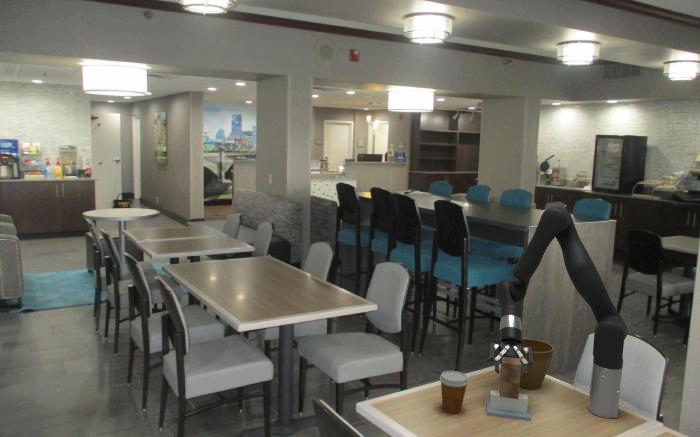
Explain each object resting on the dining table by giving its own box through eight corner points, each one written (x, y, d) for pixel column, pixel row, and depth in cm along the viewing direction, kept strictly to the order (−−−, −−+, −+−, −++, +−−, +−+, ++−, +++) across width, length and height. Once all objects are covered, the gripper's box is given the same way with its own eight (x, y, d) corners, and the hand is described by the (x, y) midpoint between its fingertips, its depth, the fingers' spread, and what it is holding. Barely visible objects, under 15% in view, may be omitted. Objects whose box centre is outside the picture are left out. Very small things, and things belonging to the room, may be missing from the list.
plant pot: (556, 386, 211) (560, 346, 209) (537, 397, 201) (541, 355, 199) (521, 373, 222) (524, 335, 219) (501, 383, 211) (504, 343, 209)
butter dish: (527, 407, 193) (528, 390, 192) (530, 420, 183) (532, 403, 182) (486, 401, 196) (487, 385, 195) (487, 414, 186) (488, 398, 185)
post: (516, 391, 191) (519, 358, 189) (518, 399, 185) (521, 365, 184) (498, 389, 192) (501, 356, 191) (499, 396, 186) (502, 362, 185)
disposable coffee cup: (467, 405, 192) (470, 373, 190) (464, 418, 183) (466, 383, 181) (440, 400, 195) (442, 368, 193) (435, 412, 186) (437, 378, 184)
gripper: (491, 323, 195) (490, 367, 186) (533, 328, 192) (534, 372, 183) (489, 333, 201) (488, 376, 191) (530, 337, 198) (531, 381, 189)
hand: (510, 374), depth 187 cm, fingers open, 8 cm apart
